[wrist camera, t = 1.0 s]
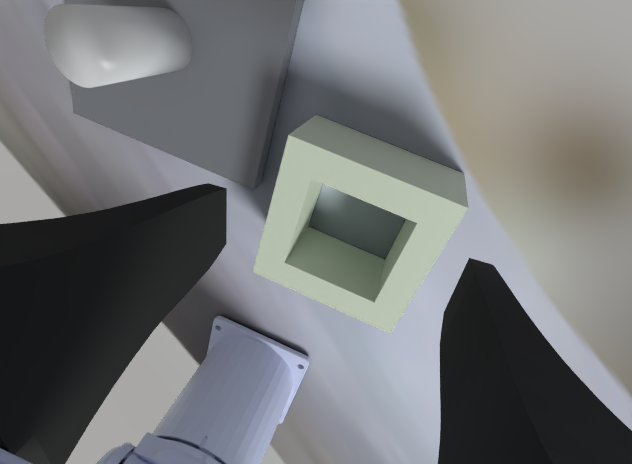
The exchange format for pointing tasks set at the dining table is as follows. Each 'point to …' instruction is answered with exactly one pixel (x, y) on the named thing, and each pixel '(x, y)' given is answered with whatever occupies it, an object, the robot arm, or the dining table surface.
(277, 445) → the dining table surface
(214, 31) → the post stand
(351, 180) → the collar
